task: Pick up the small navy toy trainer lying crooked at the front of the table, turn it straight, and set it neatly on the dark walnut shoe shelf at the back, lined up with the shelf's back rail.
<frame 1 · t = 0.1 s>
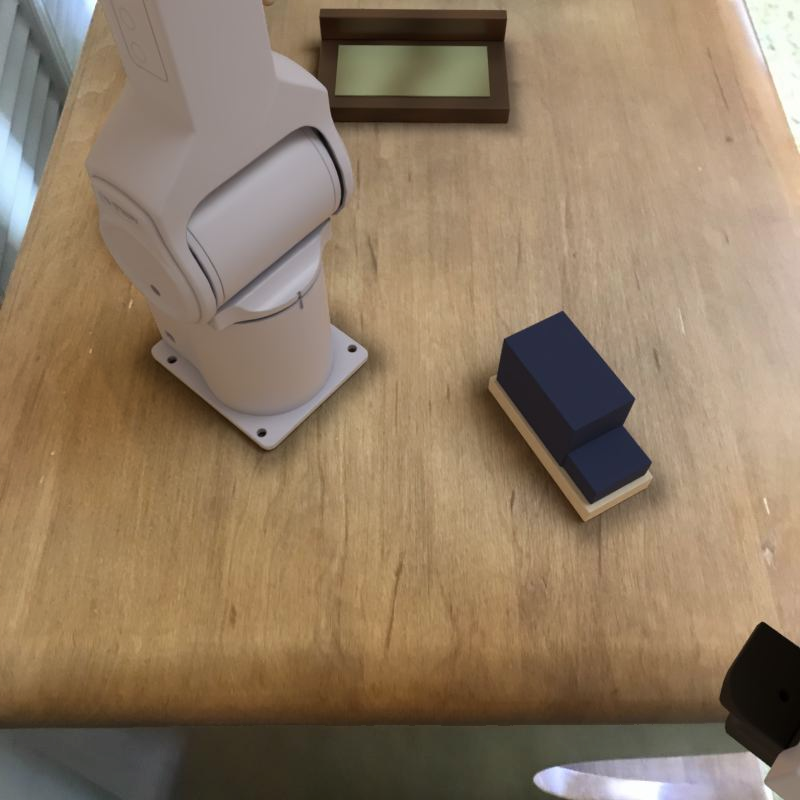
trainer: (565, 436, 44), on the table
shelf: (412, 83, 58), on the table
grandmother figurine: (233, 70, 59), on the table
doughnut: (207, 215, 52), on the table
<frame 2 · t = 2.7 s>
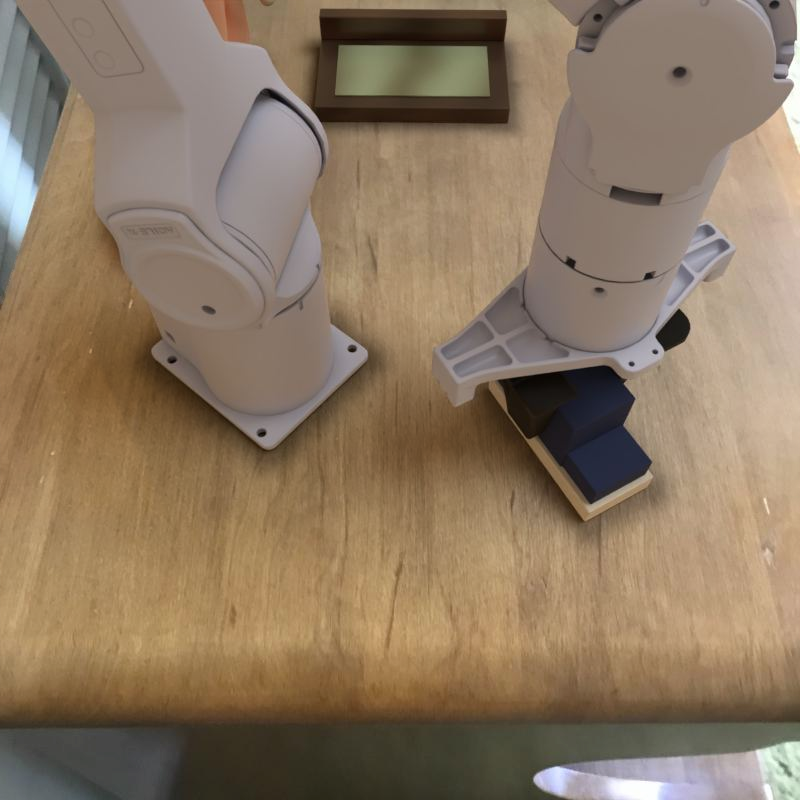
hand: (555, 405, 43), 1 cm above the table, tool pointing down, fingers closed on trainer, 3 cm apart
trainer: (565, 435, 44), on the table, touching gripper
everything else where it was.
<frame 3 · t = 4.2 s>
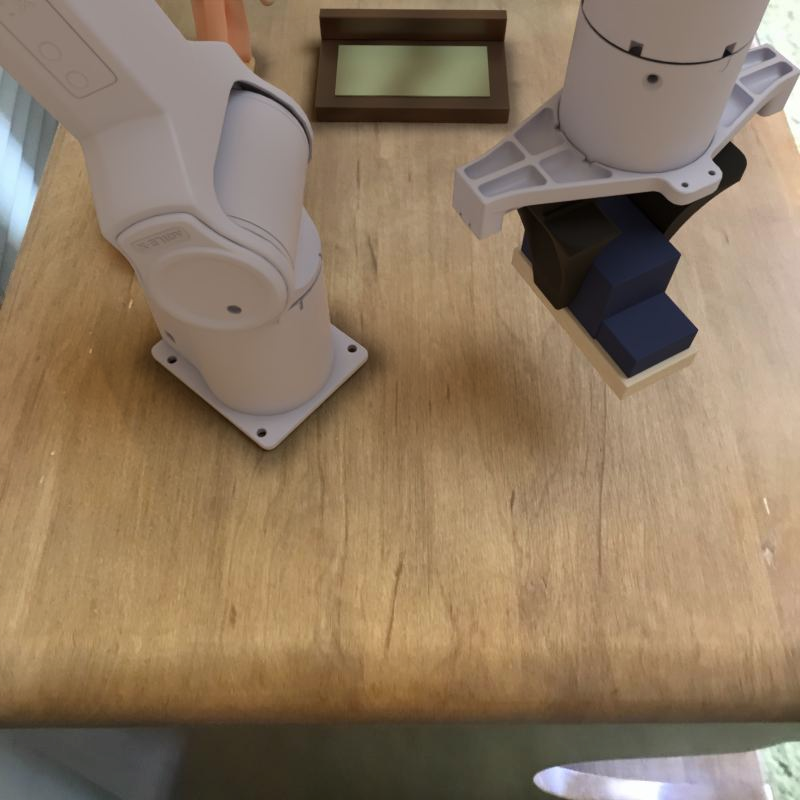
hand: (587, 276, 39), 8 cm above the table, tool pointing down, fingers closed on trainer, 3 cm apart
trainer: (597, 312, 39), point 7 cm above the table, touching gripper
everything else where it was.
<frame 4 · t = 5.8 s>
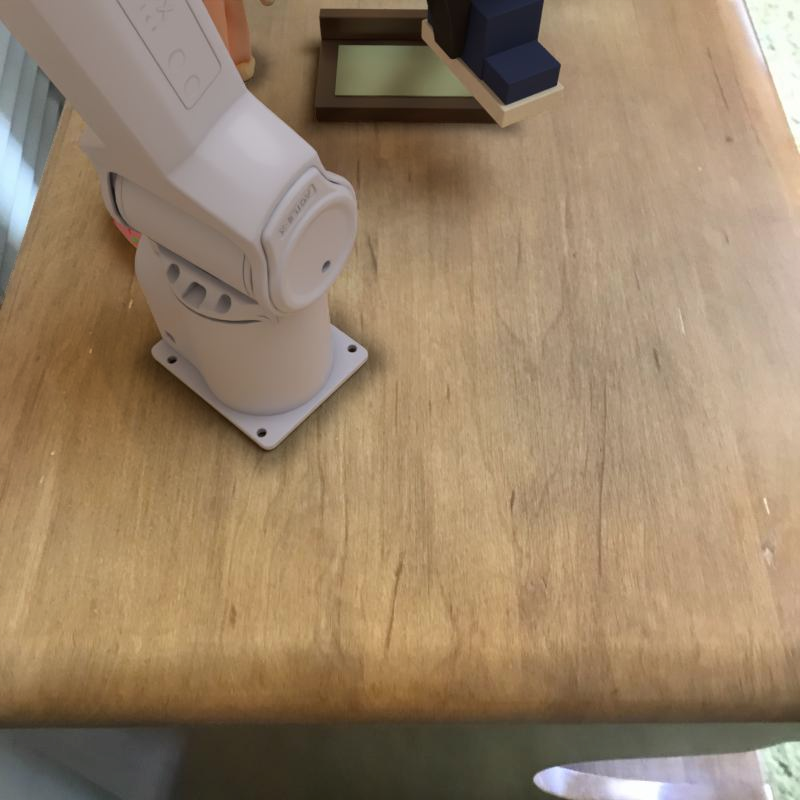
hand: (479, 37, 48), 8 cm above the table, tool pointing down, fingers closed on trainer, 3 cm apart
trainer: (489, 70, 48), point 7 cm above the table, touching gripper
everything else where it was.
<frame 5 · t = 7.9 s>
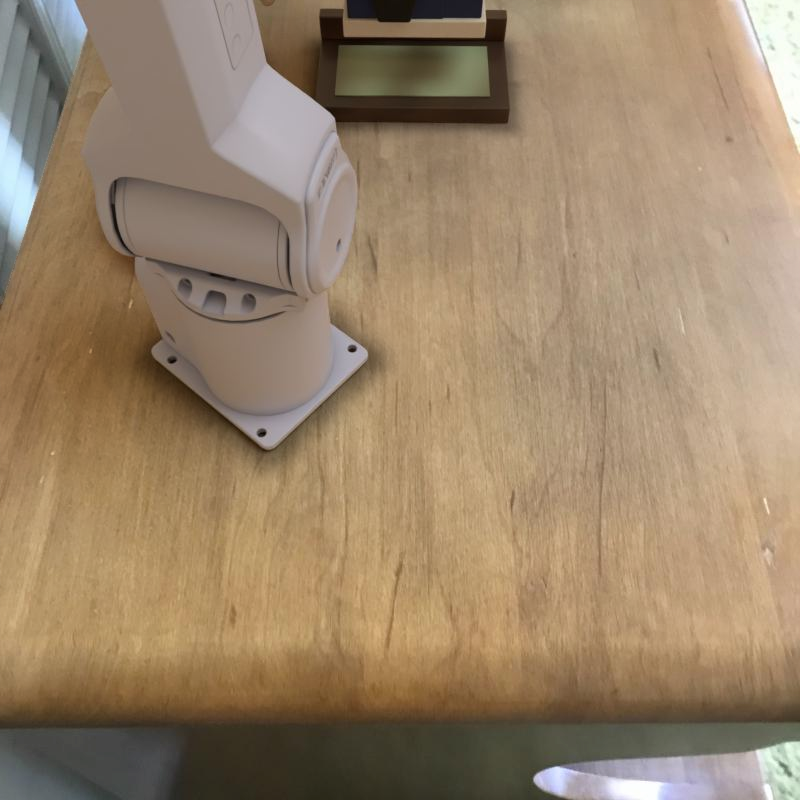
trainer: (414, 18, 54), point 5 cm above the table, touching gripper
everything else where it was.
when the fingers open (3 cm above the table, at t = 9.4 s): trainer stays where it is, resting on shelf.
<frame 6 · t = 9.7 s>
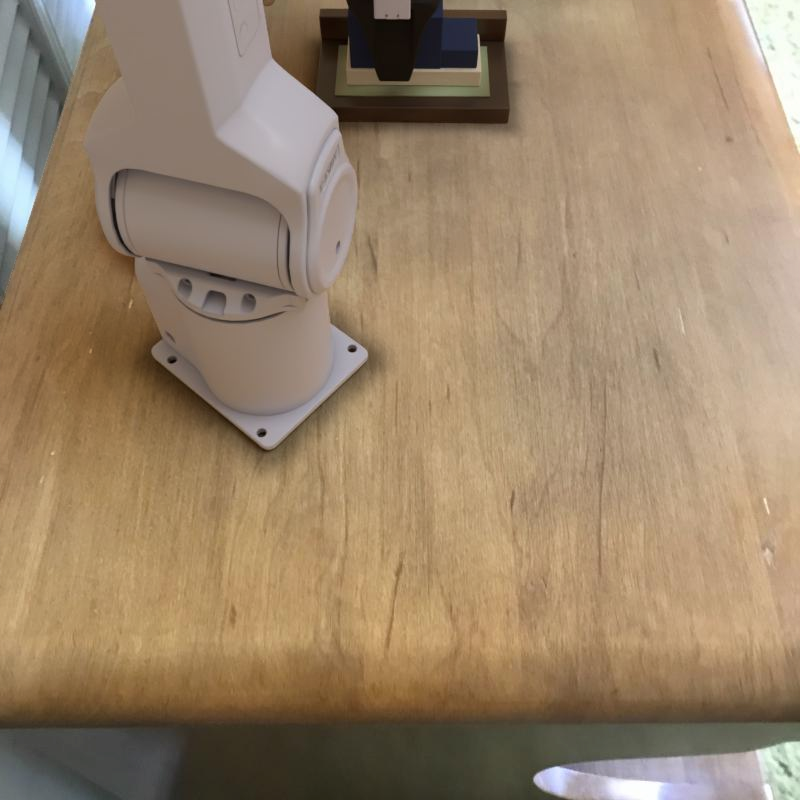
hand: (395, 51, 56), 3 cm above the table, tool pointing down, fingers open, 5 cm apart
trainer: (413, 66, 57), point 1 cm above the table, touching shelf
everything else where it was.
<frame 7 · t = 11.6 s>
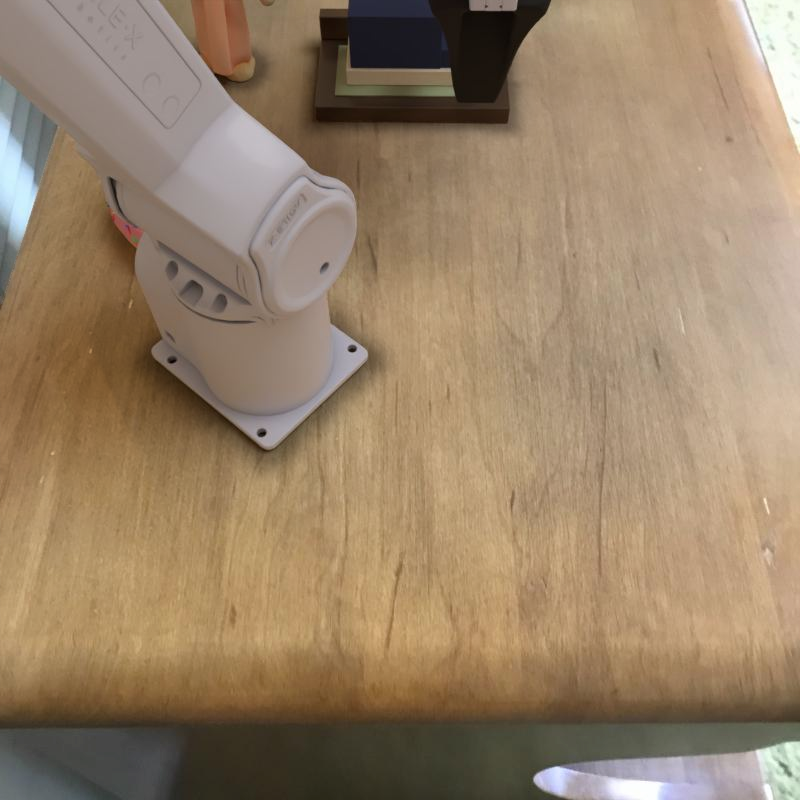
hand: (472, 51, 45), 9 cm above the table, tool pointing down, fingers open, 7 cm apart
nothing on the table moved.
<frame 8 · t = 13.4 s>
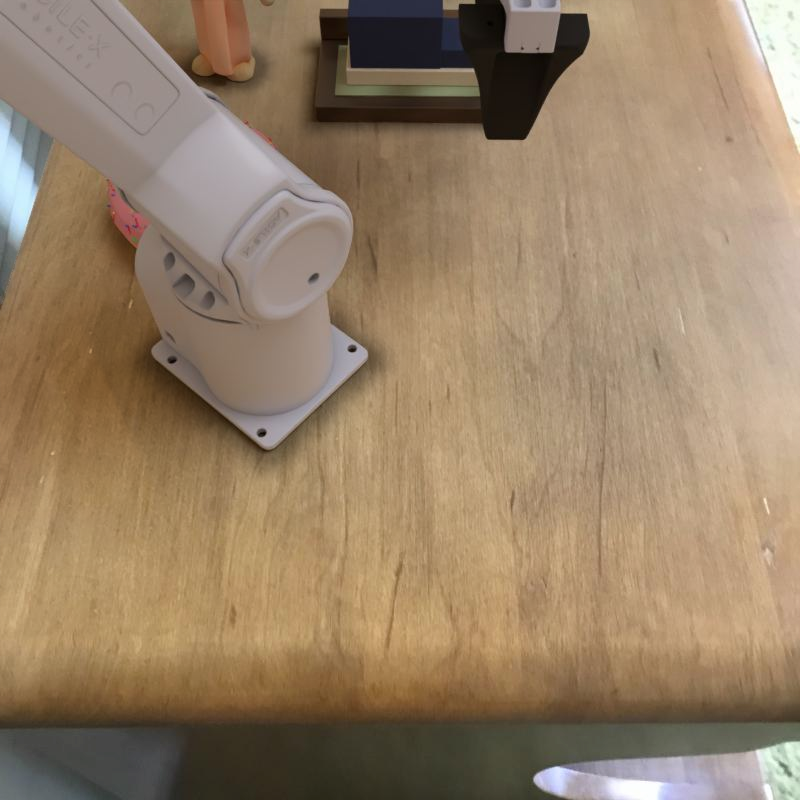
hand: (501, 84, 44), 9 cm above the table, tool pointing down, fingers open, 7 cm apart
nothing on the table moved.
at the end: trainer 0.1 cm off-centre on the shelf, point 1.3 cm above the shelf's base; trainer tilted 0°; the gripper is holding nothing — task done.
